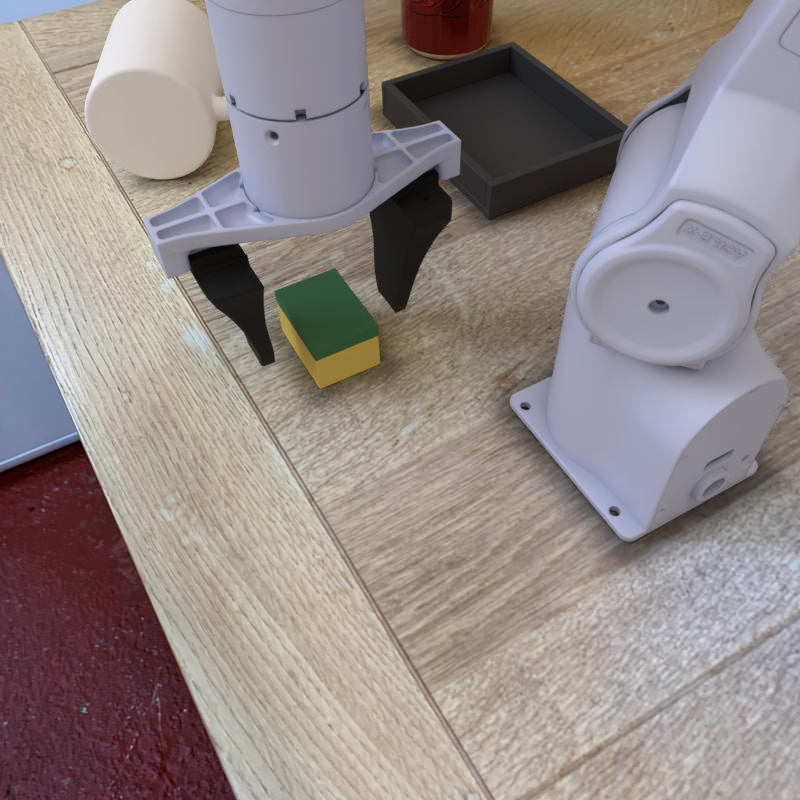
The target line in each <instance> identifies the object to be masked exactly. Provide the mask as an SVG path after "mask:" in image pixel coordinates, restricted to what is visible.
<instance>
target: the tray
mask: <svg viewBox="0 0 800 800" xmlns="http://www.w3.org/2000/svg"><path fill="white" fill-rule="evenodd" d="M381 100H382V102H381V103H382V115H383V116H384V117H385V118H386V119H387V120H388V121H389V122H390V123H391V124H393V126H394V127H395V128H396V129H402V128H409V127H415V126H420V125H425V124H428V123H432V122H435V121H438V120H439V121H441V122H442V123H443V124H444V125H445V126H446V127H447V128H448V129H450V130H451V131H452V132H453V133H454V134H455V135H456V136H457V137H458V138H459V139H460V140H461V156H460V175H458V176H455V177H452V178H450V179H448V180H449V181H450V182H451V184H453V185H454V186H455V188H457V189H458V190H459V191H460V192H461V193H462V195H464V196H465V198H466V199H468V201H470V203H472V204H473V205H474V206H475V208H477V210H479V211H480V212H481V213H482V214H483V215H484V216H485V217H486V218H487V219H488V220H491V219H494V218H497V217H499V216H502V215H505V214H507V213H509V212H513V211H515V210H517V209H520V208H523V207H525V206H528V205H530V204H534V203H536V202H538V201H542V200H544V199H547V198H549V197H551V196H554V195H557V194H559V193H562V192H564V191H567V190H570V189H572V188H575V187H578V186H580V185H583V184H586V183H589V182H591V181H593V180H596V179H598V178H601V177H604V176H607V175H610V174H611V173H614V171H615V168H616V165H617V163H616V159H617V155H618V151H619V147H620V143H621V140H622V138H623V135H624V133H625V131H626V130H627V128H628V126H629V125H627V124H626V123H625V122H623V121H622V120H621V119H619V118H618V117H616V116H615V115H614V114H612V113H611V112H610V111H608V110H607V109H606V108H604V107H603V106H601V105H600V104H599V103H598V102H596V101H595V100H594V99H592V98H590V97H589V96H588V95H587V94H585V93H584V92H583V91H581V90H580V89H578V88H577V87H575V86H574V85H573V84H572V83H570V82H569V81H567V80H566V79H565V78H564V77H562V76H561V75H560V74H558V73H557V72H556V71H554V70H553V69H551V68H550V67H548V66H547V65H546V64H545V63H543V62H542V61H541V60H539V59H538V58H536V56H534V55H532V54H531V53H530V52H528V51H527V50H526V49H525V48H523V47H522V46H520V45H519V44H517V43H516V42H514V41H510V42H507V43H504V44H500V45H497V46H494V47H491V48H488V49H485V50H480V51H479V52H477V53H474V54H471V55H468V56H465V57H461V58H458V59H453V60H447V61H445V62H441V63H439V64H435V65H432V66H429V67H426V68H423V69H419V70H416V71H413V72H410V73H407V74H403V75H400V76H397V77H393V78H389V79H387V80H383V81H381Z"/></svg>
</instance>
